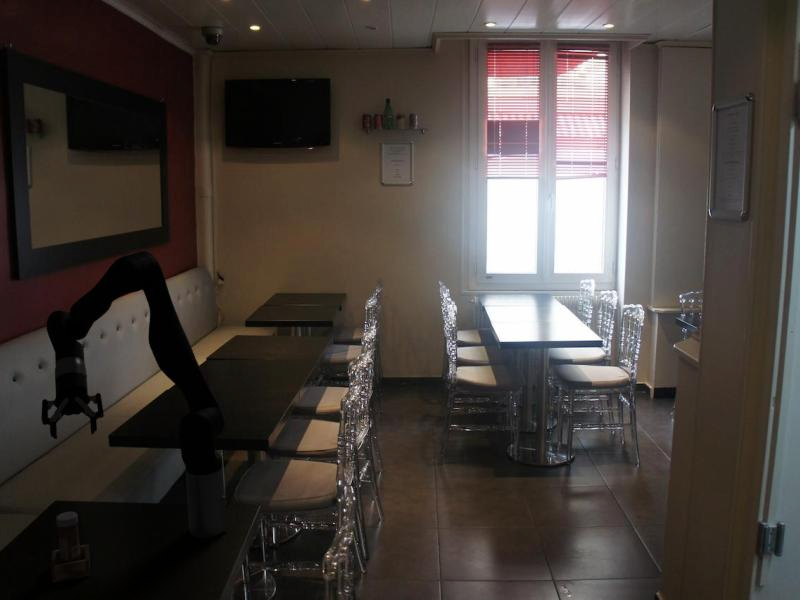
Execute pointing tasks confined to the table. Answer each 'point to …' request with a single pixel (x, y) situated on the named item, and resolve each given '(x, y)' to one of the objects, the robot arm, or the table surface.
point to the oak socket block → (70, 566)
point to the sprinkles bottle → (68, 537)
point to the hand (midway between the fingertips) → (74, 435)
